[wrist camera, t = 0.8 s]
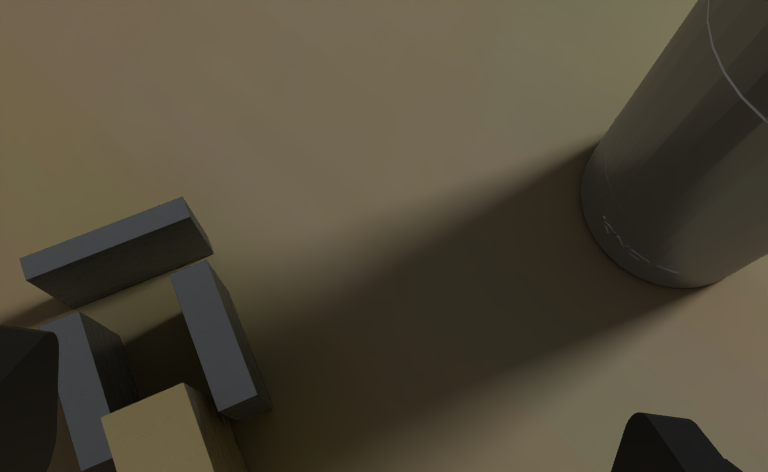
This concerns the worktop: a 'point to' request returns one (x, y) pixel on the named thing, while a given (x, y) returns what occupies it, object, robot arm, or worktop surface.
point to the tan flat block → (173, 435)
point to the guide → (104, 348)
